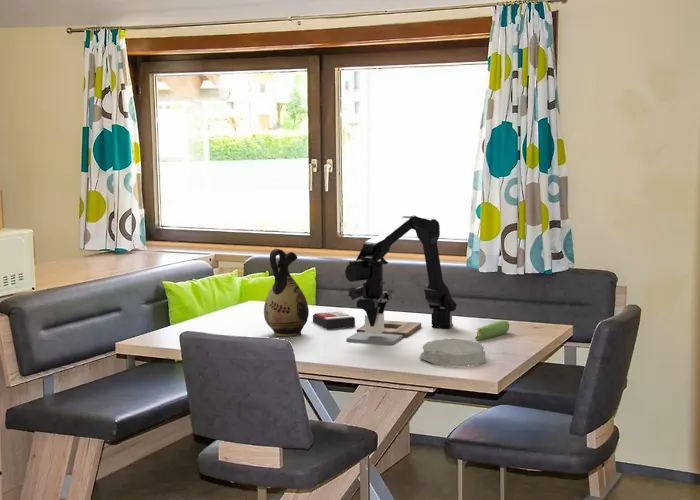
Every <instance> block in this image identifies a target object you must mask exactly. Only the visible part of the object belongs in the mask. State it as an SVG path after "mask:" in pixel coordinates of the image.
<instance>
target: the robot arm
mask: <svg viewBox="0 0 700 500" xmlns="http://www.w3.org/2000/svg"><path fill="white" fill-rule="evenodd" d="M440 228H441V227H440V223H439V220H437V219H435V218H425V217H419V216H418V215H417V216H416V215H415V214H405V215H403V216H402V217H401V219H400V220H399V221H397V222H396V223H394V224H393V225H392V226H391V227H389V228H388V229H387V230H385V231H384V232H383V233H382V234H380V235H377V236H374V237H372V238H369V239H367V240H366V241H365V242H363V245H362V248H361V249H360V251H359V254H358V255H357V256H356V259H355V260H349V261H348V265H347V266H346V268H345V271H344V272H345V273H344V274H345V278H346V280H347V281H348V282H349V283H353V282H354V283H355V282H359V281H364V282H363V284H362V286H360V287H356V286H352V287H350V288H349V291H348V297H349V298H350V299H351V300H352V301H354V300H355V299H358V298H359V299H358V300H357V301H356V308H358V309H361V310H363V311H365V313H366V314H365V315H367V316H368V320H369V323H370V326H371V327H373V326H374V324H375V321H376V318H377V315H378V313H381V314H384V313H385V310H386V308H387V305H388V304H389V301H391V300H392V293H391V292H390V291H389V290H384V285H385V284H386V281H385V280H384V265H388V263H389V262H388V261H387V260H386V259H385V258H384V257H385V256H386V255H388V252H390V249H391V246H393V244H395V243H396V242H397V241H398V240H399V239H401V238H402V237H403V236H404V235H406V234H407V233H408V232H409V231H411V230H415V231H414V232H415V234H416V237H417V239H418V240H419V241H420V243H421V244H422V248H423V254H424V259H425V266H426V273H427V277H428V278H427V279H428V285H427V286H426V288H424V290H423V292H424V297H425V298H424V300H426V302H427V304H428V306H429V309H432V313H431V327H432V328H435V329H437V328H438V329H439V328H441V329H450V328H452V327H453V326H454V323H453V311H456V309H457V303H456V302H455V300H454V299H453V298H452V296H451V292H450V290H449V287H448V285H446V283H445V282H444V280H443V273H442V267H441V259H440V254H439V249H438V247H439V246H438V241H439V237H440V235H441V230H440ZM386 300H387V301H386Z"/></svg>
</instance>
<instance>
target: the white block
mask: <svg viewBox="0 0 700 500" xmlns="http://www.w3.org/2000/svg"><path fill="white" fill-rule="evenodd" d="M384 320H385V314H384V313H383V314H381V313H378V315H377V318H376V321H375V324H374V326H373V327H371V326H370V323H369V320H368V316H367V314H365V315H364V325H365V333H368V334H381V333H382V332H384Z"/></svg>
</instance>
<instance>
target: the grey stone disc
mask: <svg viewBox="0 0 700 500" xmlns="http://www.w3.org/2000/svg"><path fill="white" fill-rule="evenodd" d="M422 350H423V352H421V353H420V355H419V358H420V359H421V360H425V361H427V362H429V363H432V364H434V365H435V364H436V365H437V364H441V365H440V366H446V365H450V366H449V367H451V366H454V367H456V366H465V367H473V366H472V365H474V366H477V365H478V364H479V365H481V364H483V363H486V362H487V358H486V350H485V347H484V345H482V344H481V343H480V342H479V341H478V342H477V341H474V340H469V339H463V338H456V337H455V338H453V337H452V338H440V339H434V340H430V341H428V342H426V343H424V344H423V345H422ZM468 365H469V366H468ZM479 365H478V366H479Z"/></svg>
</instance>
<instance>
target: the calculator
mask: <svg viewBox="0 0 700 500" xmlns="http://www.w3.org/2000/svg"><path fill="white" fill-rule="evenodd" d="M312 323H314V324H316V325H318V326H321V327H322V328H324V329H326V330H334V329H345V328H346V329H347V328H355V327H356V317H354V316H353V315H349V313H345V312H342V311H329V312H318V313H317V312H316V313H313V315H312Z"/></svg>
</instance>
